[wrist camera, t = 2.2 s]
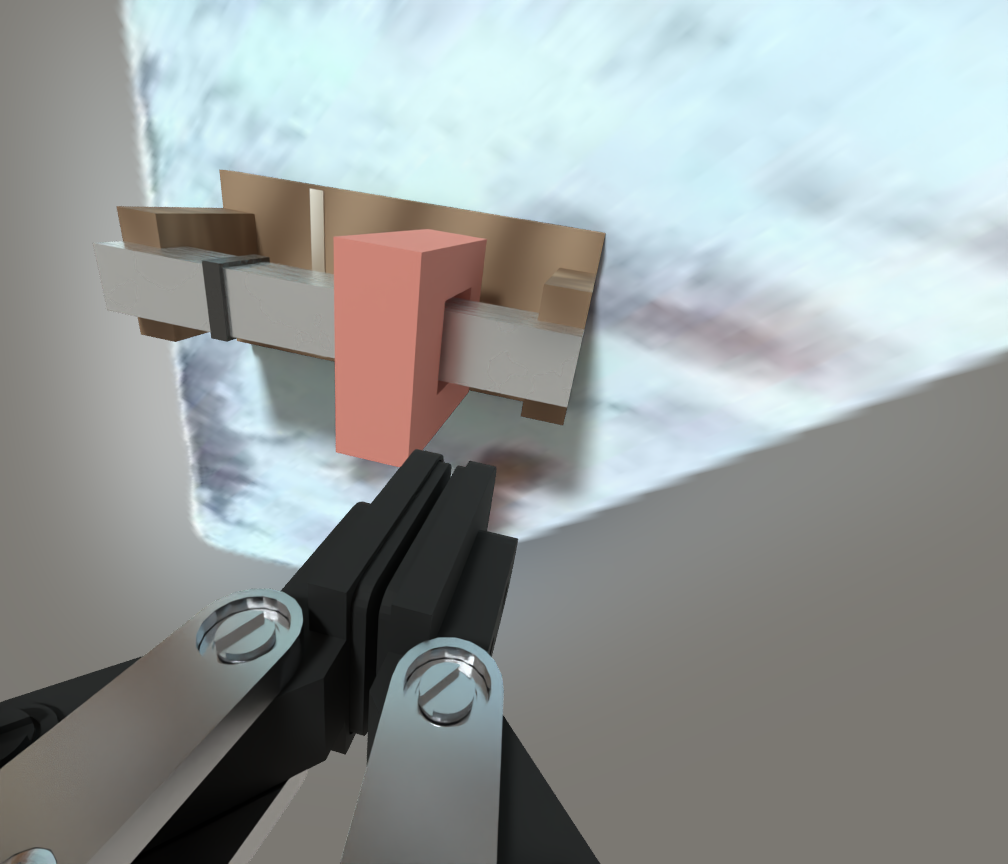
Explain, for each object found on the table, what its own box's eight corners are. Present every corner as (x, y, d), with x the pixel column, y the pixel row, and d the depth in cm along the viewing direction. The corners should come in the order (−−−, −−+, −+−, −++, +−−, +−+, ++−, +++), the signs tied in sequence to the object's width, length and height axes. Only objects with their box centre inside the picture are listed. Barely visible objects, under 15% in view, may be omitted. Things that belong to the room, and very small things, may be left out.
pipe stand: (605, 232, 26) (603, 240, 18) (567, 403, 30) (554, 462, 23) (234, 171, 28) (107, 156, 21) (249, 336, 33) (147, 371, 25)
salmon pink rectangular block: (487, 239, 23) (421, 252, 15) (468, 392, 27) (407, 469, 19) (427, 229, 24) (333, 236, 15) (417, 381, 27) (335, 452, 19)
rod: (587, 316, 21) (583, 333, 18) (571, 387, 23) (565, 413, 20) (153, 235, 24) (87, 238, 21) (164, 303, 26) (104, 315, 22)
